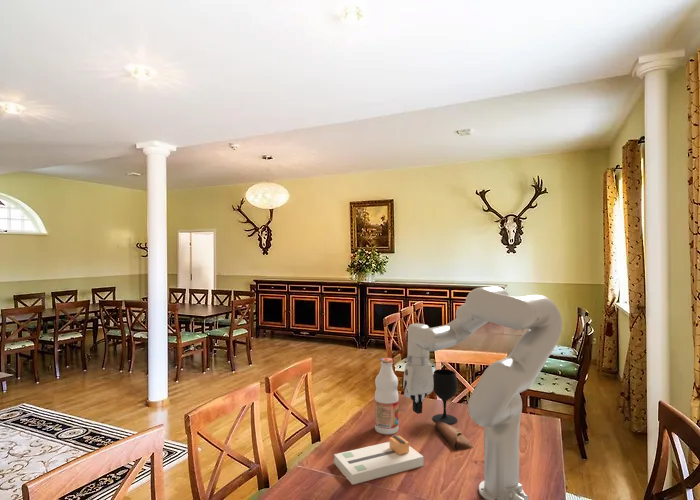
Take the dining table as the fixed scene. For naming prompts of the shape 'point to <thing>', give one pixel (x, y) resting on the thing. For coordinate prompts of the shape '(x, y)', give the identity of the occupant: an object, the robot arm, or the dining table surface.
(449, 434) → the sunglasses case
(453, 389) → the wine glass
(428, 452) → the dining table surface
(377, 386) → the fruit juice
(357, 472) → the fader console
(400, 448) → the fader knob
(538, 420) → the dining table surface
